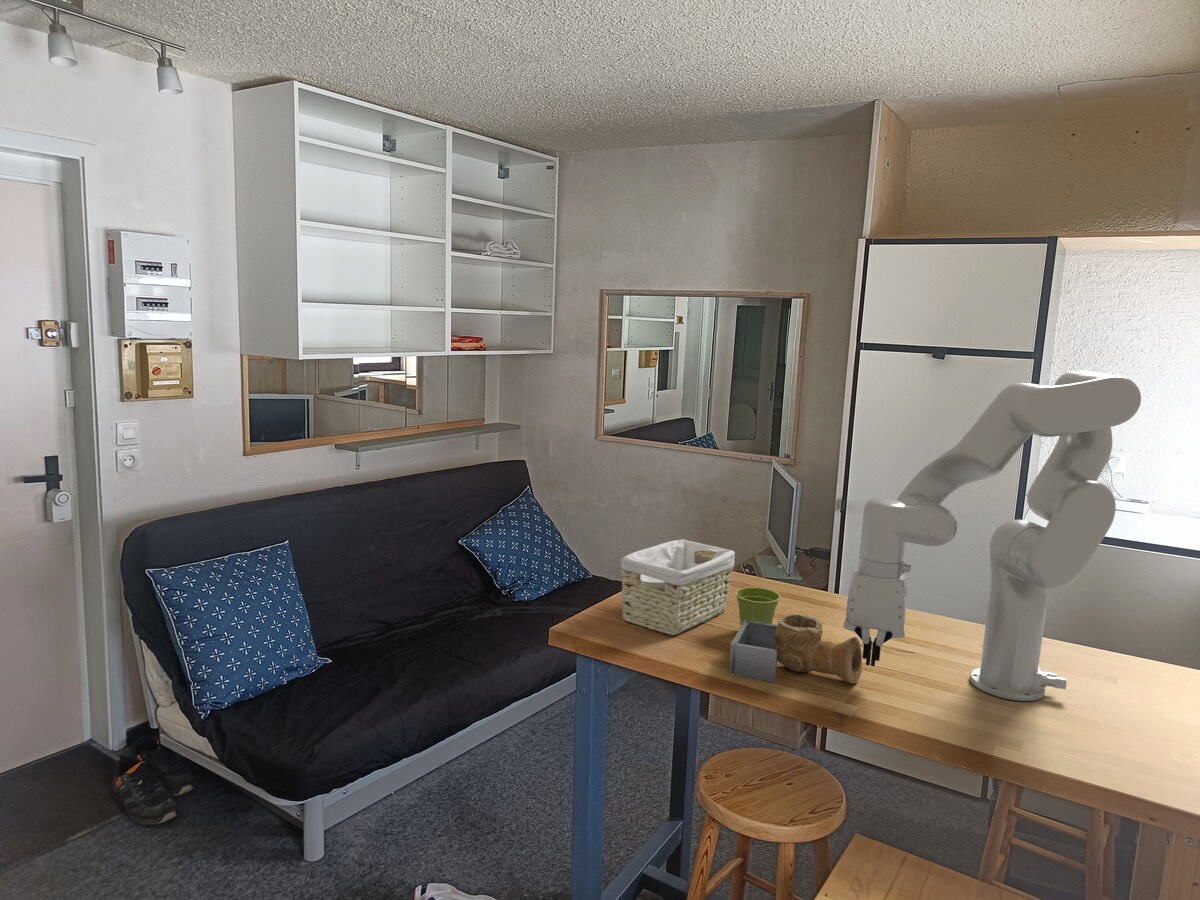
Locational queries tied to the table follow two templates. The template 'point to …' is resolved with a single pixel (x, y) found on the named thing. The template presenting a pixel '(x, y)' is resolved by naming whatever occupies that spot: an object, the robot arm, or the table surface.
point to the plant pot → (757, 604)
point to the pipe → (815, 649)
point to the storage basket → (675, 585)
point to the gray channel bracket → (754, 651)
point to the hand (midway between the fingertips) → (870, 662)
